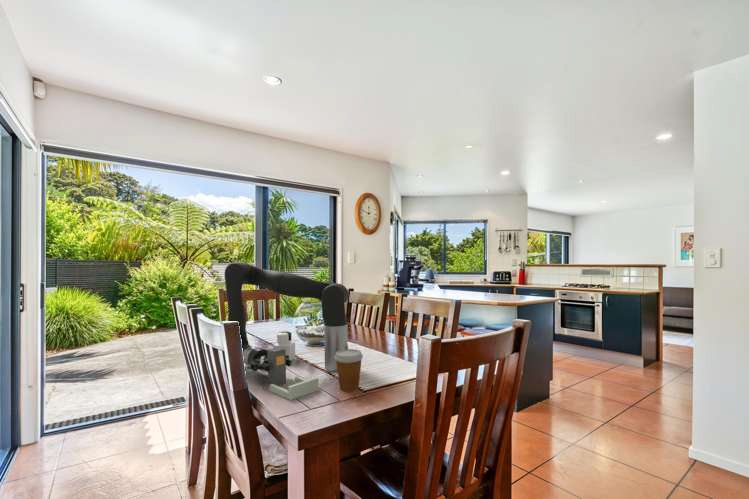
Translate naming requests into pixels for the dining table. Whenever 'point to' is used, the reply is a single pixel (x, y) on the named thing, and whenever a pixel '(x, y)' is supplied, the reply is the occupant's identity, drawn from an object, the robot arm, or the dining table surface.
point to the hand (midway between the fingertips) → (279, 365)
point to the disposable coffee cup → (348, 369)
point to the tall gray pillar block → (277, 366)
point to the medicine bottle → (286, 343)
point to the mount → (297, 388)
